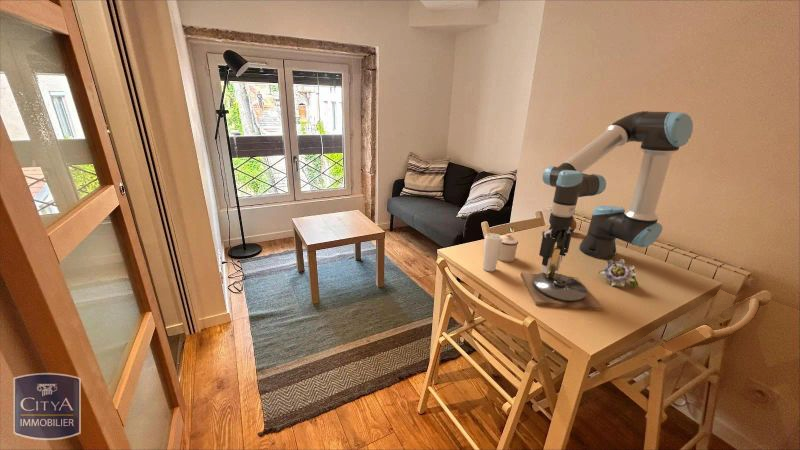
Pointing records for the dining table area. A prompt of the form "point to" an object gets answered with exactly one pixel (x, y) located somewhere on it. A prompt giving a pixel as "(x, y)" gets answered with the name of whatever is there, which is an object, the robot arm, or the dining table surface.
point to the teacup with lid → (508, 248)
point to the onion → (573, 224)
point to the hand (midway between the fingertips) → (549, 270)
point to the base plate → (544, 300)
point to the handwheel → (559, 283)
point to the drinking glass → (491, 251)
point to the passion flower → (619, 273)
